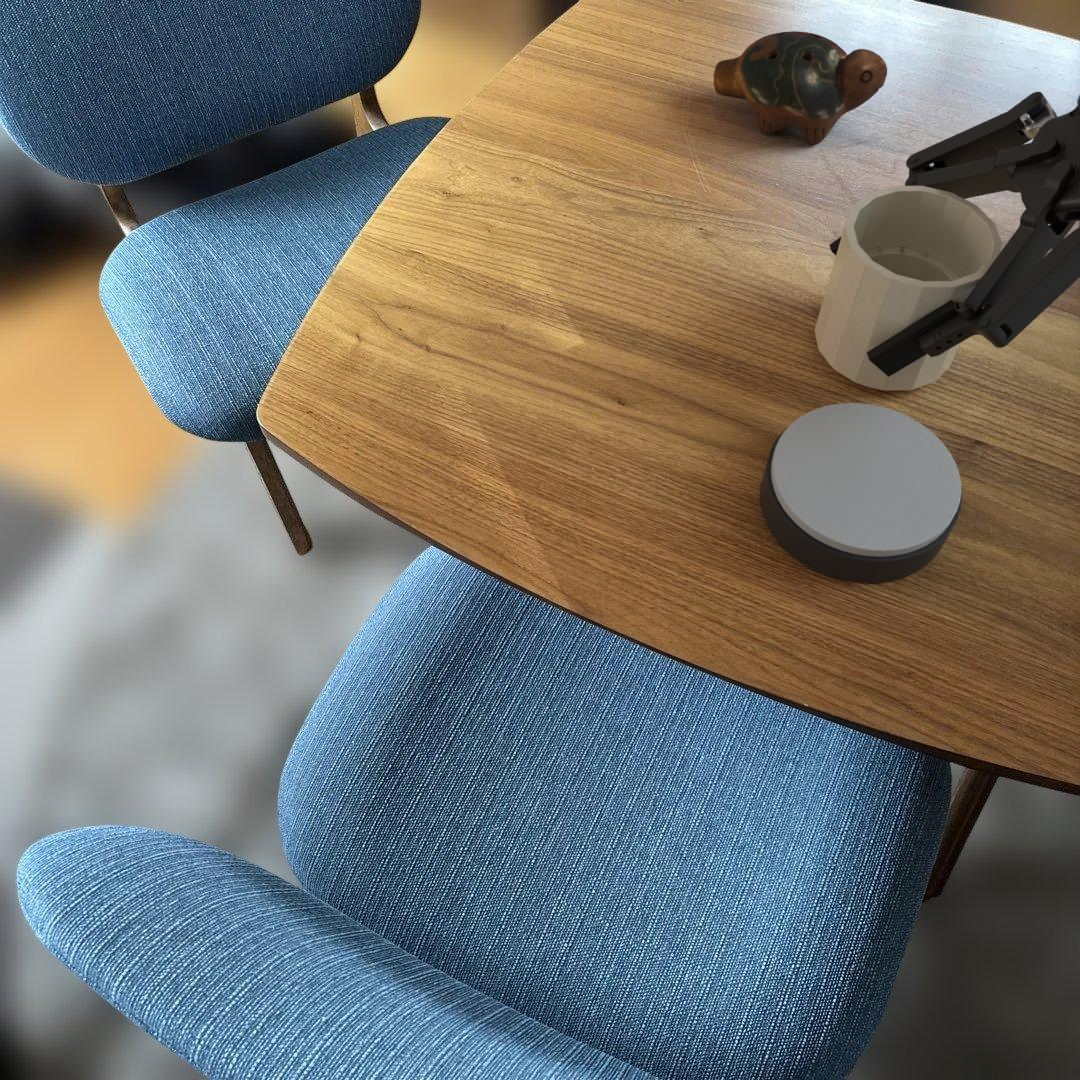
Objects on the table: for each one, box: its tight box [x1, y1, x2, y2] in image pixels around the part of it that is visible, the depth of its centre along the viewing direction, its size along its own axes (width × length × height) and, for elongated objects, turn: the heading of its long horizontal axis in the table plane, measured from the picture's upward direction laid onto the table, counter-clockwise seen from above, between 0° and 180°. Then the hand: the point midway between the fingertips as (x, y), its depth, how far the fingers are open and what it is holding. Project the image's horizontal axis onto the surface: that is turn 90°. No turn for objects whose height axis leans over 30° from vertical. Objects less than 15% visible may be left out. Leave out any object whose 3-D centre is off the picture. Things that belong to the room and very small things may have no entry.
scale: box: [759, 402, 963, 584], centre depth 70 cm, size 13×13×4 cm
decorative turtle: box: [713, 30, 888, 146], centre depth 93 cm, size 10×15×8 cm, turn 74°
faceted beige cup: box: [814, 185, 1003, 392], centre depth 75 cm, size 10×10×11 cm
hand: (857, 309), depth 76 cm, fingers closed on faceted beige cup, 11 cm apart
